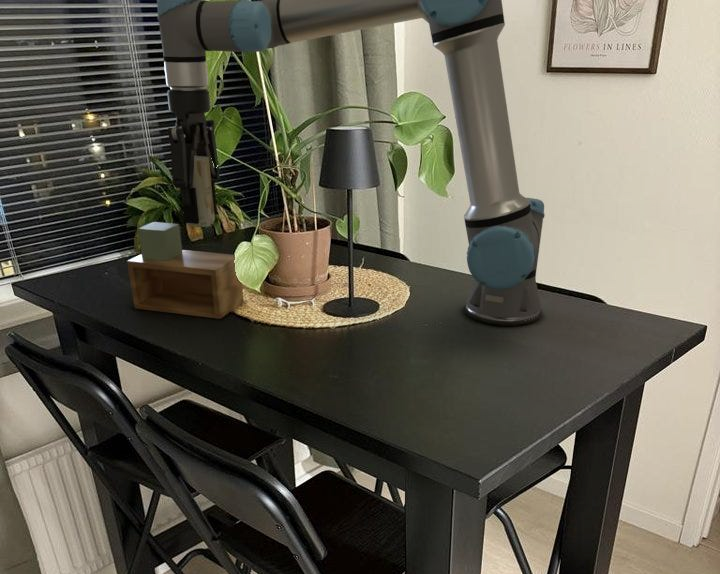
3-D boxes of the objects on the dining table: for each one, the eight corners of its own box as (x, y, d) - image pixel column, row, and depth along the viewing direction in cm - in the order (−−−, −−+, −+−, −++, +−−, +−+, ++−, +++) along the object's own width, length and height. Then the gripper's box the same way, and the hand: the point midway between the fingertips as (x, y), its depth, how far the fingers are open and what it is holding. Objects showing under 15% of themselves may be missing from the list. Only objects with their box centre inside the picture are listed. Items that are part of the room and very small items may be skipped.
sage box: (157, 250, 160) (153, 221, 156) (182, 253, 158) (179, 223, 155) (142, 258, 155) (137, 228, 152) (167, 261, 153) (163, 230, 150)
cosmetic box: (209, 227, 147) (203, 160, 141) (187, 227, 147) (179, 160, 141) (215, 219, 153) (209, 154, 146) (194, 219, 153) (187, 154, 146)
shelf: (161, 292, 167) (155, 246, 162) (243, 301, 162) (239, 255, 157) (134, 308, 159) (126, 260, 153) (220, 319, 153) (215, 270, 148)
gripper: (195, 83, 146) (208, 206, 158) (140, 92, 130) (158, 228, 142) (230, 84, 144) (240, 208, 156) (178, 94, 128) (194, 232, 140)
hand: (201, 218), depth 149 cm, fingers closed on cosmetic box, 7 cm apart
